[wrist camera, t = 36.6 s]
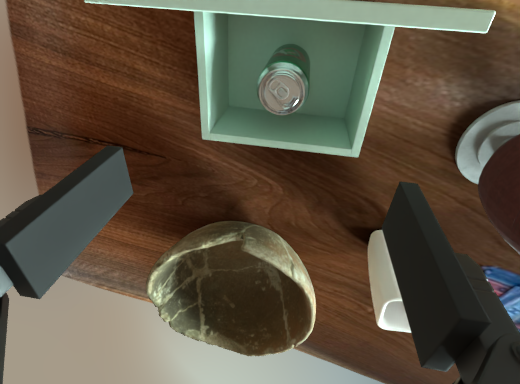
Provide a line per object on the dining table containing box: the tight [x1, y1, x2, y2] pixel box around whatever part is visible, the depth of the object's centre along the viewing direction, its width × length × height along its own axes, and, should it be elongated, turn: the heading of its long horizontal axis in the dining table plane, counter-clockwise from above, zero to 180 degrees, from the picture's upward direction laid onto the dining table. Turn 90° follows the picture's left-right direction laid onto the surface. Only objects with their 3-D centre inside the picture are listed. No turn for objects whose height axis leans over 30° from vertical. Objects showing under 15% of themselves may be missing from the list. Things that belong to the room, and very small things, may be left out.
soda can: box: [257, 44, 310, 115], centre depth 32 cm, size 5×5×12 cm
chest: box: [194, 11, 395, 157], centre depth 33 cm, size 14×18×10 cm
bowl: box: [146, 221, 316, 356], centre depth 51 cm, size 28×27×15 cm
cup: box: [368, 230, 411, 333], centre depth 45 cm, size 7×7×15 cm
